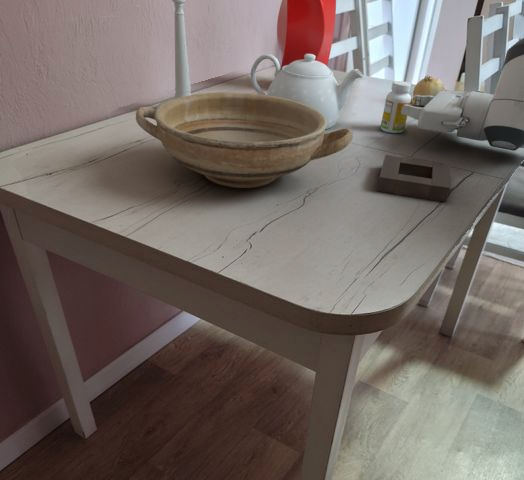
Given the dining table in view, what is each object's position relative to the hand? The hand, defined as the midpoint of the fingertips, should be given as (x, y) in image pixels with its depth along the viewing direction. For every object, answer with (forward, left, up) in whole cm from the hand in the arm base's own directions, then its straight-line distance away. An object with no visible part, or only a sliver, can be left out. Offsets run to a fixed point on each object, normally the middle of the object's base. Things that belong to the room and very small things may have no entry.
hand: (407, 104), depth 107 cm
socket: (-4, +30, -6) cm, 31 cm away
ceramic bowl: (+26, +38, -6) cm, 47 cm away
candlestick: (+50, +7, -6) cm, 51 cm away
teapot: (+23, +2, -6) cm, 24 cm away
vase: (+29, -28, -6) cm, 41 cm away
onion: (-5, -28, -6) cm, 29 cm away
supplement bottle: (+2, -1, -6) cm, 7 cm away
